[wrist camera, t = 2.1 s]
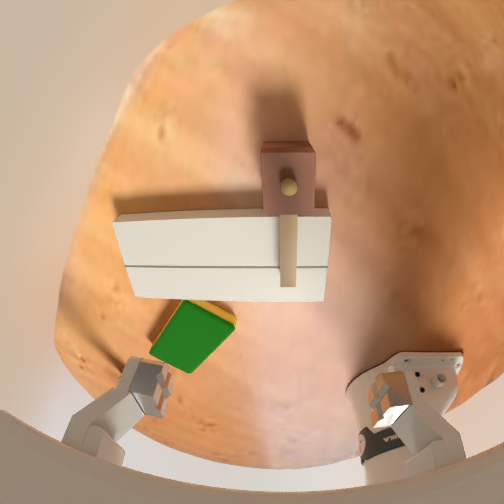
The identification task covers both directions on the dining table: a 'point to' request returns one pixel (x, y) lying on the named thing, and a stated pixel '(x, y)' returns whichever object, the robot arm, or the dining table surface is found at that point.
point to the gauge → (288, 195)
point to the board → (221, 255)
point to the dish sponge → (192, 334)
